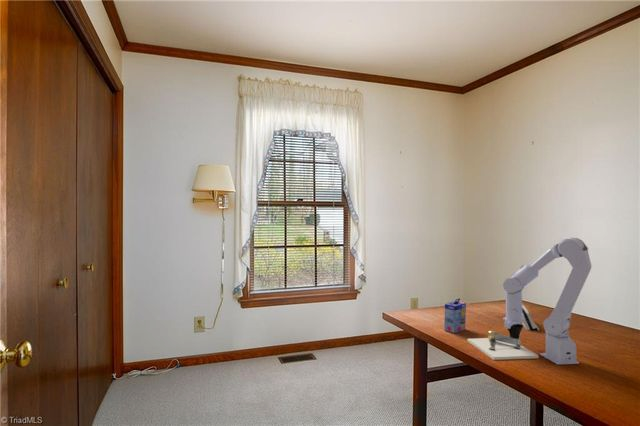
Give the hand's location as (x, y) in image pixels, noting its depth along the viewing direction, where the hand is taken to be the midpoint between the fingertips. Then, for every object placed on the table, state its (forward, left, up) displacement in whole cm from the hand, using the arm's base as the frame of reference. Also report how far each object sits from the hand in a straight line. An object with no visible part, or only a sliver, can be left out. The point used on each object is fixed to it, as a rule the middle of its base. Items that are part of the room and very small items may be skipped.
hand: (514, 342), depth 144 cm
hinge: (+29, -23, -3) cm, 37 cm away
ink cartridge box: (+25, +13, -2) cm, 28 cm away
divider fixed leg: (+1, +9, -1) cm, 9 cm away
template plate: (0, +6, -2) cm, 6 cm away
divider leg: (+2, +3, 0) cm, 4 cm away
